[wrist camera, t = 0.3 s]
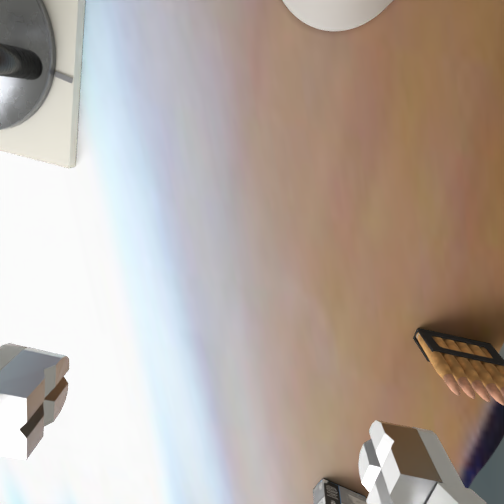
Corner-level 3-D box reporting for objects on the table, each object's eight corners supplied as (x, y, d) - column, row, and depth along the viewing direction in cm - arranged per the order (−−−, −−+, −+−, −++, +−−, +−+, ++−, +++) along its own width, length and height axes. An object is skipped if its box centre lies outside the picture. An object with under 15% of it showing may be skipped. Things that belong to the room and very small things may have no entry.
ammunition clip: (412, 338, 53) (447, 399, 41) (417, 327, 52) (454, 386, 41) (485, 354, 53) (539, 419, 41) (490, 343, 52) (547, 407, 41)
